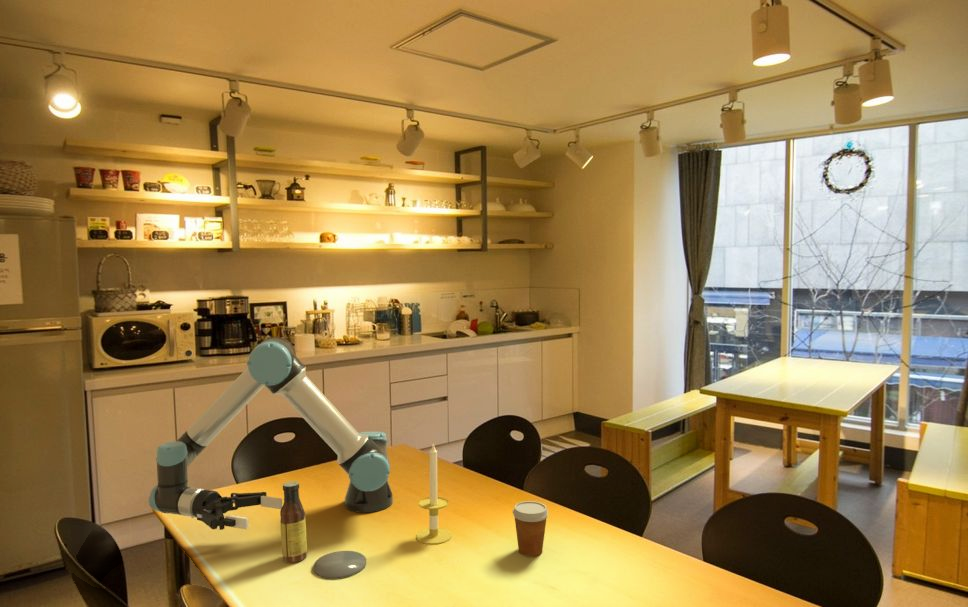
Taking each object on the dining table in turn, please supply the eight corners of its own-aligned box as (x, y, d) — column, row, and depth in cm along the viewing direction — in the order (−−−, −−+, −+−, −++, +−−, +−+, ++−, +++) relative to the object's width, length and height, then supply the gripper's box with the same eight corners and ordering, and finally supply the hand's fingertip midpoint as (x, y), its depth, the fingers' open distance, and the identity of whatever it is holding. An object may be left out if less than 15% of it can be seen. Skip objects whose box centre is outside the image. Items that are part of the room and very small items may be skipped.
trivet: (353, 549, 163) (353, 546, 163) (374, 568, 152) (374, 565, 152) (306, 563, 155) (305, 560, 155) (325, 584, 145) (325, 581, 145)
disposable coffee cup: (524, 562, 155) (524, 517, 154) (506, 547, 164) (506, 504, 163) (555, 554, 159) (555, 510, 159) (535, 540, 168) (536, 498, 167)
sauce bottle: (312, 554, 160) (310, 481, 159) (297, 565, 154) (295, 489, 153) (291, 551, 162) (289, 478, 161) (276, 561, 156) (274, 486, 155)
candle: (458, 533, 172) (457, 440, 171) (439, 547, 164) (438, 449, 162) (428, 526, 177) (428, 435, 176) (409, 539, 168) (408, 444, 167)
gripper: (233, 500, 178) (294, 509, 172) (164, 535, 155) (231, 547, 148) (232, 475, 178) (293, 483, 171) (163, 507, 154) (231, 517, 148)
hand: (265, 513), depth 160 cm, fingers open, 13 cm apart
